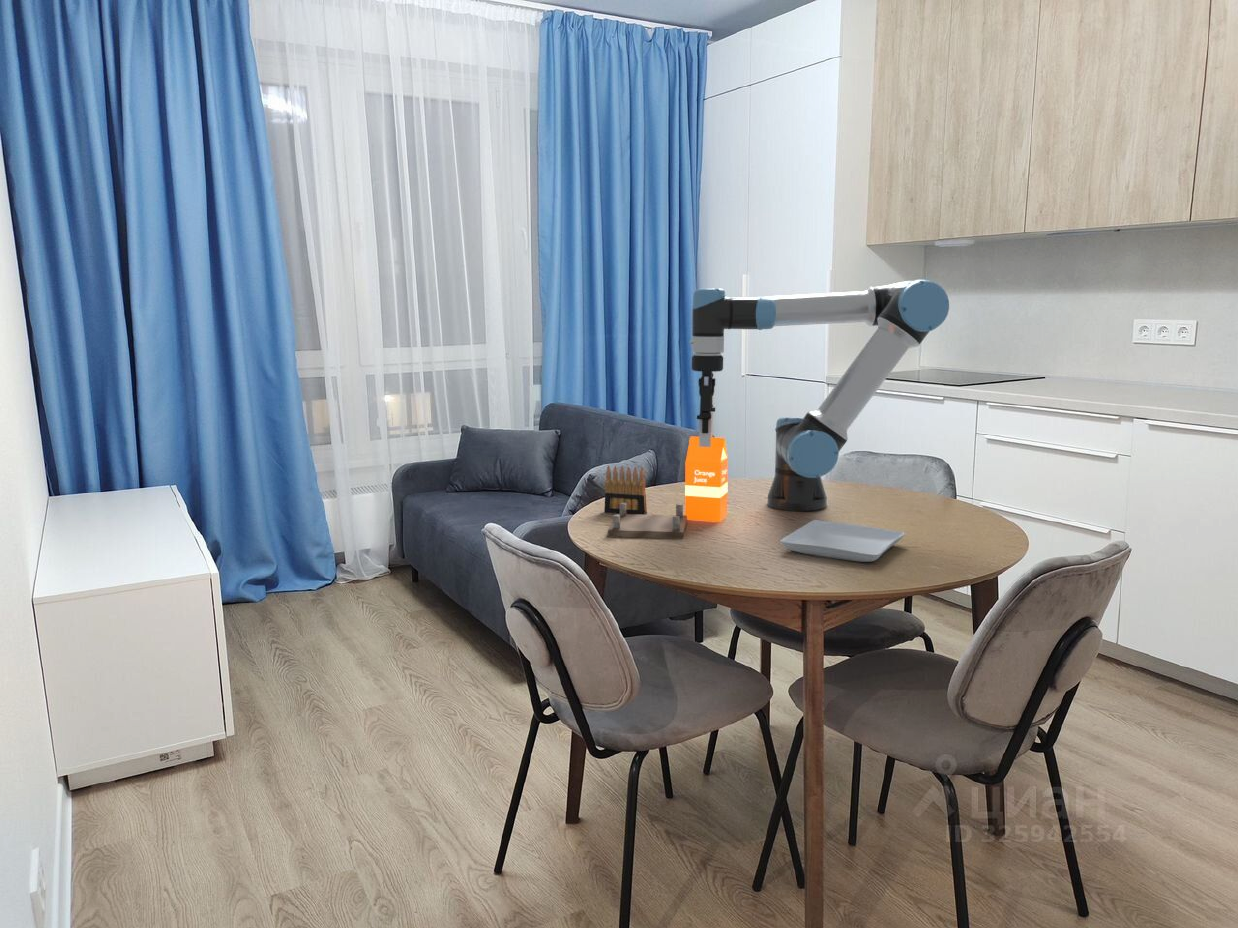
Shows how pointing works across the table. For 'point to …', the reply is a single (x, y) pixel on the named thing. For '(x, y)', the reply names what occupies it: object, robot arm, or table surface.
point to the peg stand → (648, 524)
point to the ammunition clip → (631, 497)
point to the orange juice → (706, 481)
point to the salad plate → (841, 540)
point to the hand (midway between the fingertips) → (705, 442)
